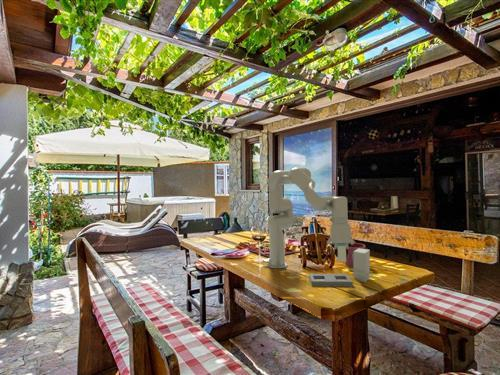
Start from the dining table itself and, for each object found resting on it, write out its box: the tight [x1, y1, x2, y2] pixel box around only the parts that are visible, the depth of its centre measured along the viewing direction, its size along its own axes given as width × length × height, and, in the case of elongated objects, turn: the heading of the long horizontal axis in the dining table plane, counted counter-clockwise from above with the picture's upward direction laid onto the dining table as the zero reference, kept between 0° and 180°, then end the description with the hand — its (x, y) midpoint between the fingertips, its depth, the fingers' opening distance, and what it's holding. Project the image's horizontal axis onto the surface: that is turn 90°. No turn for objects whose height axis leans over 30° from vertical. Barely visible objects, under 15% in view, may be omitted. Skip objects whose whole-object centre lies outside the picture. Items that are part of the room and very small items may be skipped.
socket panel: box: [308, 273, 354, 287], centre depth 153 cm, size 20×12×3 cm, turn 85°
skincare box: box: [352, 248, 371, 283], centre depth 158 cm, size 8×7×16 cm
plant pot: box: [344, 242, 366, 268], centre depth 184 cm, size 14×14×13 cm
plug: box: [336, 244, 346, 263], centre depth 152 cm, size 4×4×9 cm
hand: (341, 256), depth 152 cm, fingers closed on plug, 4 cm apart
